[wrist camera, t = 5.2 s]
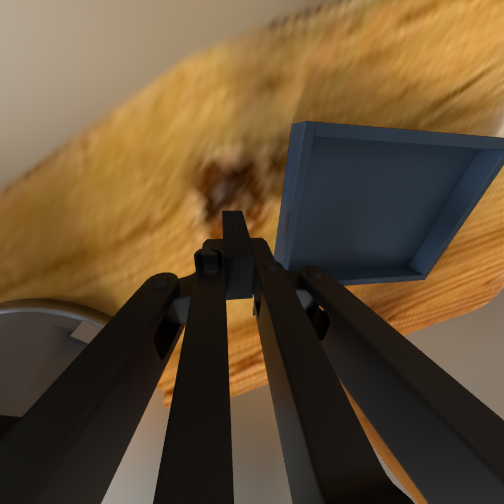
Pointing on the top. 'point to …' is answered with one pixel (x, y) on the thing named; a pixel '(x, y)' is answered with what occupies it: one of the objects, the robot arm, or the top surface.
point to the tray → (378, 198)
